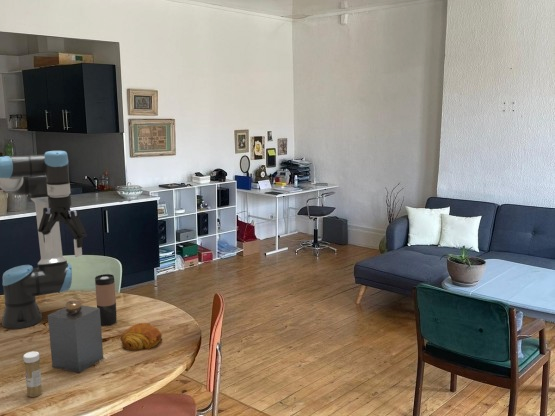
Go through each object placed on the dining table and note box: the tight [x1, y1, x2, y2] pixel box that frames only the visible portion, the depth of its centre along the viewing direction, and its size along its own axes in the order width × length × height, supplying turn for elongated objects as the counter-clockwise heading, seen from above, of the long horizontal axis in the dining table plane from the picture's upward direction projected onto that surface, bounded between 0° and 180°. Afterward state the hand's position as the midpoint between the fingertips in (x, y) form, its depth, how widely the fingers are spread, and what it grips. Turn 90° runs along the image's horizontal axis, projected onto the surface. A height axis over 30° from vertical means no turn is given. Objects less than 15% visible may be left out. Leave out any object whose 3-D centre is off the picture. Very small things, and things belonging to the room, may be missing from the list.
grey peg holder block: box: [47, 304, 104, 374], centre depth 195 cm, size 12×12×19 cm
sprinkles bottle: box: [22, 350, 43, 398], centre depth 174 cm, size 5×5×14 cm
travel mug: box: [94, 273, 117, 327], centre depth 230 cm, size 8×8×20 cm
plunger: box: [65, 300, 82, 314], centre depth 194 cm, size 9×9×20 cm
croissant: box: [120, 322, 163, 351], centre depth 212 cm, size 14×16×8 cm
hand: (63, 253), depth 199 cm, fingers open, 13 cm apart
